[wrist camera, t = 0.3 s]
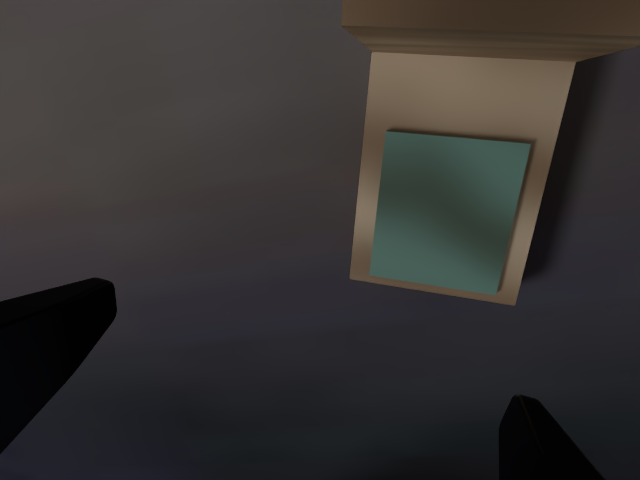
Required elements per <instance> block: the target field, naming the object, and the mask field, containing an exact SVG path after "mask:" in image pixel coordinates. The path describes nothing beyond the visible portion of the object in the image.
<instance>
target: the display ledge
mask: <svg viewBox="0 0 640 480" xmlns="http://www.w3.org/2000/svg"><path fill="white" fill-rule="evenodd" d="M341 26H342V27H343V28H345V29H346V30H347V31H348V32H349V33H350V34H352V35H353V36H354V37H355V38H356V39H357V40H359V41H360V42H361V43H362V44H363V45H364V46H366V47H367V48H368V49H369V50H370V51H371V52H372V57H371V67H370V77H369V87H368V98H367V108H366V118H365V128H364V138H363V148H362V158H361V168H360V178H359V188H358V199H357V209H356V219H355V229H354V239H353V249H352V259H351V269H350V279H353V280H359V281H365V282H372V283H378V284H384V285H390V286H396V287H403V288H409V289H415V290H421V291H427V292H434V293H440V294H446V295H452V296H458V297H465V298H471V299H477V300H483V301H489V302H496V303H502V304H508V305H514V306H515V304H516V300H517V296H518V292H519V288H520V284H521V280H522V276H523V272H524V268H525V264H526V260H527V256H528V252H529V248H530V244H531V240H532V236H533V232H534V228H535V224H536V220H537V216H538V212H539V208H540V204H541V200H542V196H543V192H544V188H545V184H546V180H547V176H548V172H549V168H550V164H551V160H552V156H553V152H554V148H555V144H556V140H557V136H558V132H559V128H560V124H561V120H562V116H563V112H564V108H565V104H566V100H567V96H568V92H569V88H570V84H571V80H572V76H573V72H574V68H575V64H576V62H578V61H582V60H586V59H590V58H594V57H598V56H602V55H606V54H610V53H614V52H618V51H622V50H626V49H631V48H635V47H639V46H640V0H343V5H342V19H341Z"/></svg>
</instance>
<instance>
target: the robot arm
mask: <svg viewBox="0 0 640 480" xmlns="http://www.w3.org/2000/svg"><path fill="white" fill-rule="evenodd" d="M116 313H117V306H116V297H115V288H114V285H113V283H112V282H110V281H108V280H104V279H101V278H90V279H86V280H83V281H79V282H75V283H71V284H67V285H63V286H59V287H55V288H51V289H47V290H43V291H40V292H36V293H32V294H28V295H24V296H20V297H16V298H12V299H8V300H4V301H0V454H1V453H2V452H3V451H4V449H5V448H6V447H7V446H8V445H9V444H10V443H11V442H12V441H13V440H14V438H15V437H16V436H17V435H18V434H19V433H20V432H21V431H22V430H23V429H24V428H25V426H26V425H27V424H28V423H29V422H30V421H31V420H32V419H33V418H34V417H35V415H36V414H37V413H38V412H39V411H40V410H41V409H42V408H43V407H44V406H45V404H46V403H47V402H48V401H49V400H50V399H51V398H52V397H53V396H54V395H55V394H56V392H57V391H58V390H59V389H60V388H61V387H62V386H63V385H64V384H65V383H66V381H67V380H68V379H69V378H70V377H71V376H72V375H73V373H74V372H75V371H76V370H77V368H78V367H79V366H80V365H81V363H82V362H83V361H84V359H85V358H86V357H87V355H88V354H89V353H90V351H91V350H92V349H93V347H94V346H95V345H96V343H97V342H98V341H99V339H100V338H101V337H102V335H103V334H104V333H105V331H106V330H107V329H108V327H109V326H110V325H111V323H112V322H113V321H114V319H115V317H116ZM499 480H606V479H605V478H604V477H603V476H602V475H601V473H600V472H599V471H598V470H597V469H596V468H595V466H594V465H593V464H592V463H591V462H590V460H589V459H588V458H587V457H586V456H585V455H584V453H583V452H582V451H581V450H580V449H579V447H578V446H577V445H576V444H575V443H574V442H573V440H572V439H571V438H570V437H569V436H568V434H567V433H566V432H565V431H564V430H563V429H562V427H561V426H560V425H559V424H558V423H557V421H556V420H555V419H554V418H553V417H552V416H551V414H550V413H549V412H548V411H547V410H546V408H545V407H544V406H543V405H542V404H541V403H540V402H539V401H538V400H537V399H535V398H531V397H528V396H524V395H520V394H516V395H514V396H513V397H512V399H511V401H510V403H509V405H508V408H507V410H506V412H505V414H504V416H503V418H502V420H501V423H500V427H499Z"/></svg>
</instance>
